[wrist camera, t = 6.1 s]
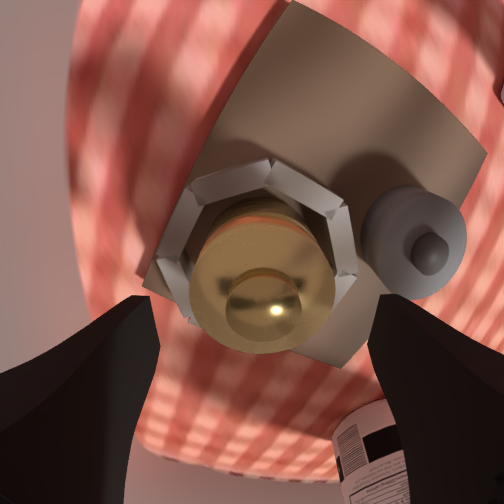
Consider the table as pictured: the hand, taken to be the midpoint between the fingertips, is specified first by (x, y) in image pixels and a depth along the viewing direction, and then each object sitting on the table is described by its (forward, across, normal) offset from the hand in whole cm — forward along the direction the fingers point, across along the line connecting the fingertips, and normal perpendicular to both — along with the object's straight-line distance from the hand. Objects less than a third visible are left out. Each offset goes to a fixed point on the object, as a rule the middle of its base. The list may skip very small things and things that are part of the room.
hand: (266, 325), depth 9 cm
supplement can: (+6, -10, +16) cm, 20 cm away
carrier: (+6, -3, -2) cm, 7 cm away
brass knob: (+6, 0, 0) cm, 6 cm away
